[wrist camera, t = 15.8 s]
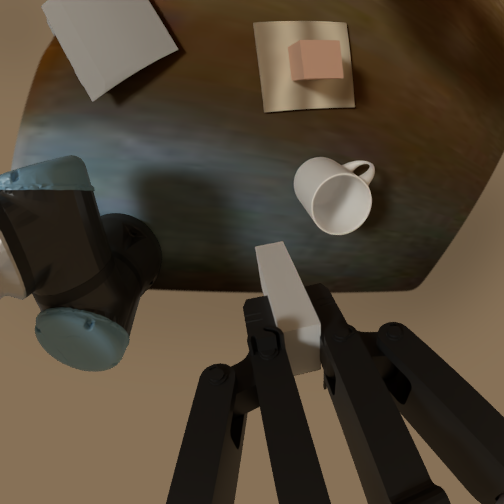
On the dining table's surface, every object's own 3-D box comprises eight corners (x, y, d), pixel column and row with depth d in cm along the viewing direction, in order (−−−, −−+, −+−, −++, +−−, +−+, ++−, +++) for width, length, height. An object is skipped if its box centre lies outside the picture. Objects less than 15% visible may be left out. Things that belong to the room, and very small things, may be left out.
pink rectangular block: (291, 80, 39) (304, 78, 33) (287, 47, 36) (299, 39, 30) (326, 79, 39) (343, 78, 33) (322, 46, 37) (339, 40, 31)
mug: (367, 176, 48) (400, 198, 39) (310, 216, 51) (331, 246, 41) (343, 133, 44) (374, 146, 35) (281, 176, 47) (298, 198, 38)
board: (264, 112, 42) (264, 112, 41) (253, 23, 35) (253, 22, 34) (353, 107, 42) (354, 107, 42) (344, 23, 35) (346, 22, 35)
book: (97, 113, 39) (87, 115, 36) (42, 12, 28) (30, 9, 25) (183, 57, 37) (180, 54, 34) (120, -44, 26) (114, -53, 23)
